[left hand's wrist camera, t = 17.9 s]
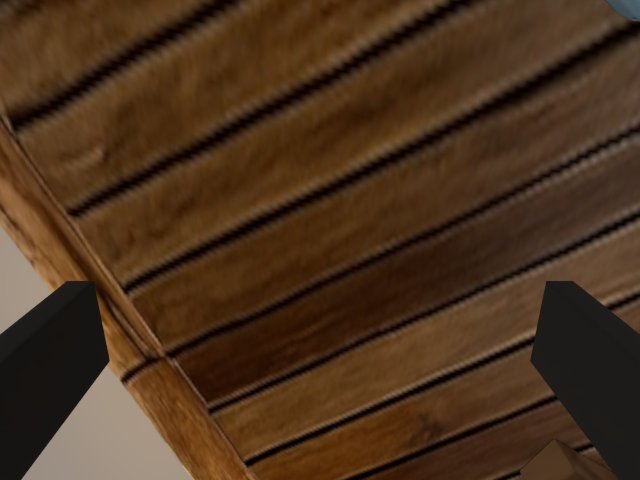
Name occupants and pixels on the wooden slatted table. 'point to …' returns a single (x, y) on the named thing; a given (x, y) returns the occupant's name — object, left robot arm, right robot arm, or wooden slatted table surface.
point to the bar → (564, 465)
